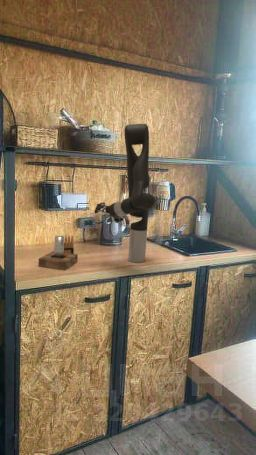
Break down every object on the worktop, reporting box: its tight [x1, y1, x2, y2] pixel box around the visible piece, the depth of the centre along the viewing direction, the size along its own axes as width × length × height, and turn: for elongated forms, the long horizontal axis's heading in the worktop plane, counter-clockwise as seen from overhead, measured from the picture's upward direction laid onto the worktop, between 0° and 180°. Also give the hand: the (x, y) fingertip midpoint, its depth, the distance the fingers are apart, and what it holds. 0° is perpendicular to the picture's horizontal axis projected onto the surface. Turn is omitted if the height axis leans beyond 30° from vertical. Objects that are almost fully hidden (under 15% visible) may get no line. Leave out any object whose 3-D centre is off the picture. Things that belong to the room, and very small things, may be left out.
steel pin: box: [53, 235, 65, 259], centre depth 184 cm, size 5×5×14 cm
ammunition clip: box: [53, 234, 75, 254], centre depth 198 cm, size 11×2×12 cm, turn 116°
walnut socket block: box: [38, 250, 79, 271], centre depth 185 cm, size 16×14×4 cm
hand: (101, 215), depth 188 cm, fingers open, 8 cm apart
